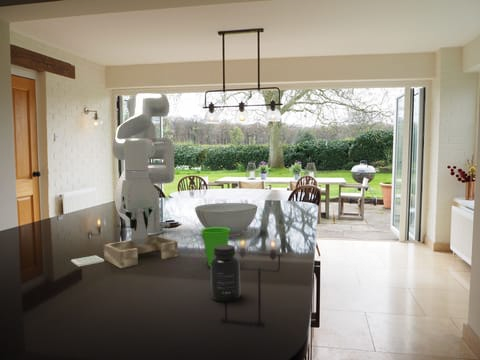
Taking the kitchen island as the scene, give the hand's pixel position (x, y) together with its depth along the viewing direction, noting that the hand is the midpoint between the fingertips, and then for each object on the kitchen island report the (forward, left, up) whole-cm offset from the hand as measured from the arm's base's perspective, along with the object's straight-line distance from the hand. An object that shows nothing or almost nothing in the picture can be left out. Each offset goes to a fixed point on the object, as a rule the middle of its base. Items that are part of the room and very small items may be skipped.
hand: (139, 229), depth 127 cm
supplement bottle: (+1, +50, -10) cm, 51 cm away
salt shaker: (0, 0, -5) cm, 5 cm away
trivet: (+15, -6, -9) cm, 19 cm away
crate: (0, +2, -9) cm, 10 cm away
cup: (-13, +27, -10) cm, 31 cm away
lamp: (-24, -60, -10) cm, 65 cm away
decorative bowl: (-44, -8, -10) cm, 45 cm away
